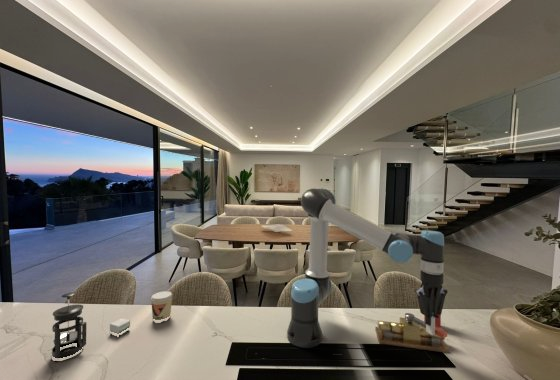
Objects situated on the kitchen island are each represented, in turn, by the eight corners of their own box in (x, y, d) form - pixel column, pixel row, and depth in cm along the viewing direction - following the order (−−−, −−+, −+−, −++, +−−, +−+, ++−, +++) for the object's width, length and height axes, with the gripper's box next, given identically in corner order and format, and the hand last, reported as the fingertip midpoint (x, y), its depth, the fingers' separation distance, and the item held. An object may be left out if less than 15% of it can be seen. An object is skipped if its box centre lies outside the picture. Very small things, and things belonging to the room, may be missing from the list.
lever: (403, 317, 105) (403, 314, 105) (408, 316, 106) (408, 312, 106) (442, 338, 90) (442, 334, 90) (448, 336, 91) (448, 331, 91)
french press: (42, 362, 89) (42, 299, 89) (64, 345, 98) (65, 288, 98) (74, 362, 89) (74, 299, 89) (93, 346, 98) (94, 289, 98)
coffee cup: (146, 323, 115) (146, 298, 115) (159, 313, 124) (159, 290, 125) (164, 325, 114) (164, 299, 114) (175, 315, 123) (176, 291, 123)
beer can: (443, 330, 111) (443, 304, 111) (427, 329, 113) (427, 303, 113) (437, 323, 118) (437, 298, 118) (422, 321, 119) (422, 297, 119)
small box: (118, 338, 104) (118, 326, 104) (109, 335, 106) (109, 323, 106) (130, 331, 109) (130, 320, 109) (122, 328, 111) (122, 317, 111)
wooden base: (379, 343, 102) (379, 321, 102) (375, 330, 111) (375, 310, 111) (449, 353, 96) (449, 330, 96) (438, 338, 106) (438, 317, 106)
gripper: (425, 275, 88) (423, 340, 88) (454, 274, 91) (453, 337, 91) (410, 269, 96) (408, 329, 96) (437, 267, 99) (436, 326, 98)
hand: (430, 332), depth 93 cm, fingers closed
